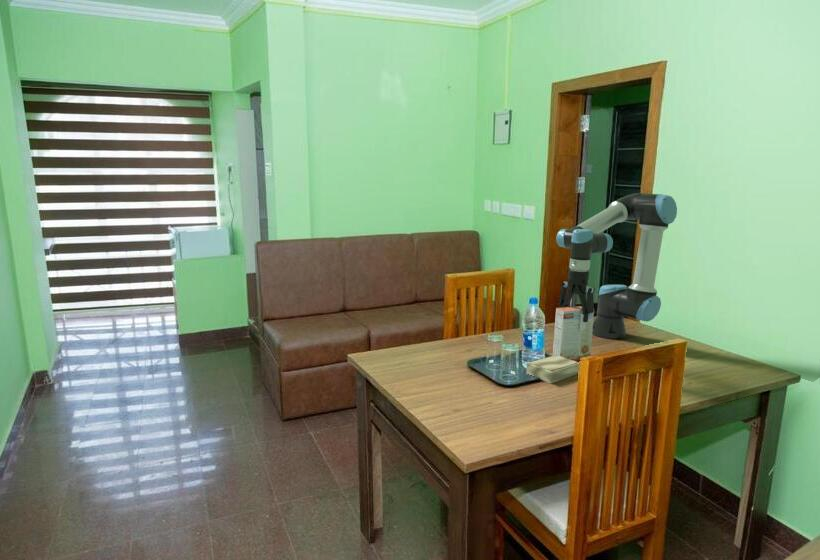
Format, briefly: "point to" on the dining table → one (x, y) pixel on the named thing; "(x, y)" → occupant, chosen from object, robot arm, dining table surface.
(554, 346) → the cracker box
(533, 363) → the stack of paper napkins
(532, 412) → the dining table surface
